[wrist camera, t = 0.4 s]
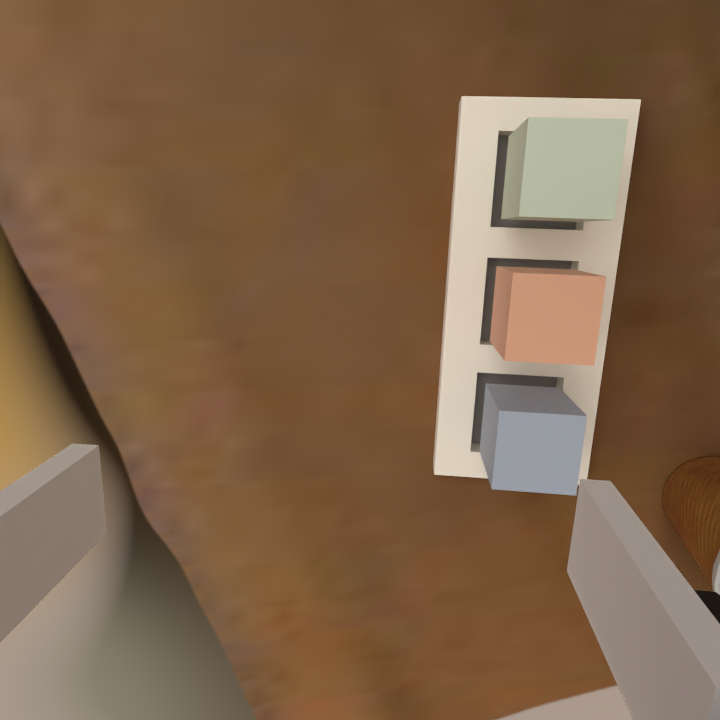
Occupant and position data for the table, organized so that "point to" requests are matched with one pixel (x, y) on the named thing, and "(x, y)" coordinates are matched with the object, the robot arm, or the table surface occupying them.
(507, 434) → the slate block
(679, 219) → the table surface
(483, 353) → the board
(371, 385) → the table surface
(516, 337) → the terracotta block
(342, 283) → the table surface
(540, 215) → the sage block
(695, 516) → the disposable coffee cup
